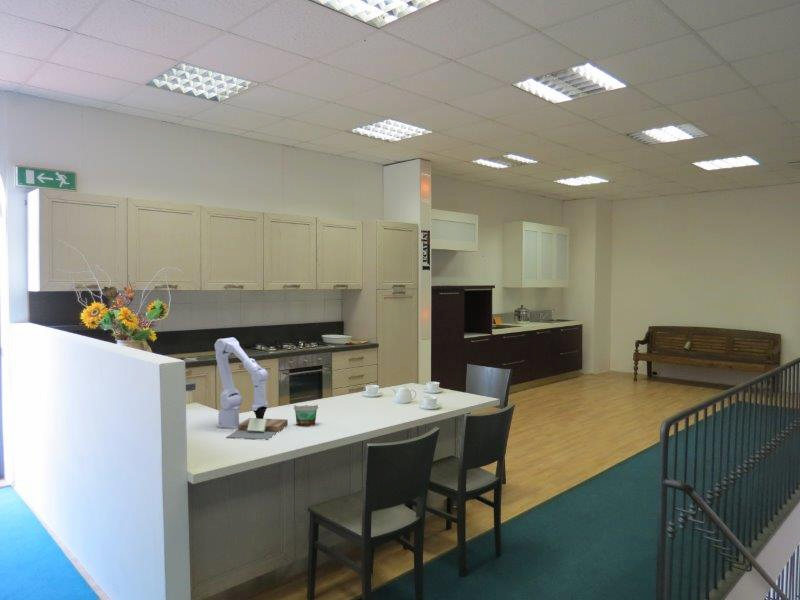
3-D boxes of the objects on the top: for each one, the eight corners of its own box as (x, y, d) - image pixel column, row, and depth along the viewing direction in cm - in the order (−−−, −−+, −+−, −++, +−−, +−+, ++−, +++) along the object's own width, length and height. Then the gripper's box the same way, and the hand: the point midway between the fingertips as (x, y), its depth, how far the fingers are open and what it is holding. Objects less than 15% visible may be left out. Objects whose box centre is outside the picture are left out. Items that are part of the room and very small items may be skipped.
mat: (226, 438, 257) (226, 437, 257) (237, 431, 269) (237, 430, 269) (267, 440, 255) (267, 439, 255) (277, 433, 266) (277, 432, 266)
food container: (293, 427, 277) (293, 407, 277) (293, 424, 283) (293, 404, 283) (318, 426, 280) (318, 406, 279) (318, 423, 286) (318, 403, 285)
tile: (248, 431, 267) (247, 430, 265) (251, 419, 270) (250, 418, 268) (264, 432, 265) (263, 430, 264) (267, 420, 269) (266, 419, 267)
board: (237, 431, 270) (237, 424, 270) (249, 423, 284) (249, 417, 283) (277, 432, 267) (277, 426, 267) (287, 425, 281) (287, 419, 281)
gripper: (262, 397, 263) (262, 426, 263) (273, 391, 277) (273, 418, 278) (247, 397, 264) (247, 425, 264) (259, 391, 278) (259, 418, 278)
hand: (259, 422), depth 271 cm, fingers closed
